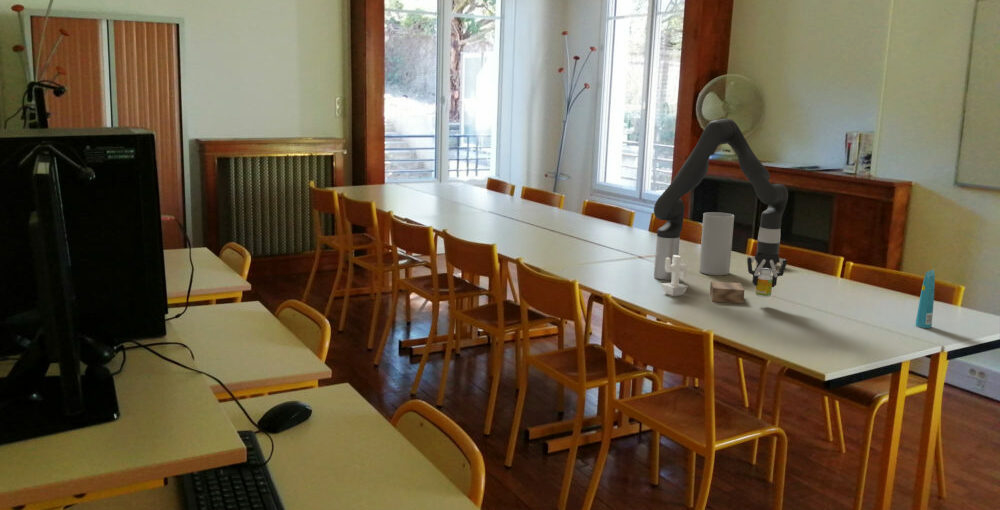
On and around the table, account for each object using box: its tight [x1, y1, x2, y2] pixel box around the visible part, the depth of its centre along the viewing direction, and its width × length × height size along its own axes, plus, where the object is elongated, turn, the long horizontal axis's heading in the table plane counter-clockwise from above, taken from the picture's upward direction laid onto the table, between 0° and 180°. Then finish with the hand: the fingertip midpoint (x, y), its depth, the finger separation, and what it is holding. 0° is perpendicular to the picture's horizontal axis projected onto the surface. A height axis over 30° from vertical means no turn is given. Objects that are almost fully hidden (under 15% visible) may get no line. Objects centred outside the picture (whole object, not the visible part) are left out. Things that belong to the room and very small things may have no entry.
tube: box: [915, 269, 936, 329], centre depth 277 cm, size 7×5×19 cm, turn 140°
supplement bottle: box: [754, 268, 773, 298], centre depth 299 cm, size 5×5×10 cm
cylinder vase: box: [698, 211, 735, 277], centre depth 351 cm, size 12×12×25 cm
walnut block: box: [709, 281, 745, 304], centre depth 309 cm, size 11×11×5 cm
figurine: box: [661, 255, 689, 297], centre depth 313 cm, size 7×9×15 cm
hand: (764, 285), depth 299 cm, fingers closed on supplement bottle, 5 cm apart
